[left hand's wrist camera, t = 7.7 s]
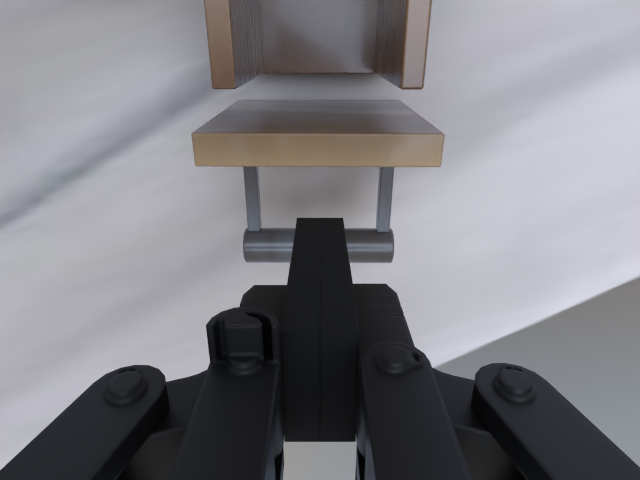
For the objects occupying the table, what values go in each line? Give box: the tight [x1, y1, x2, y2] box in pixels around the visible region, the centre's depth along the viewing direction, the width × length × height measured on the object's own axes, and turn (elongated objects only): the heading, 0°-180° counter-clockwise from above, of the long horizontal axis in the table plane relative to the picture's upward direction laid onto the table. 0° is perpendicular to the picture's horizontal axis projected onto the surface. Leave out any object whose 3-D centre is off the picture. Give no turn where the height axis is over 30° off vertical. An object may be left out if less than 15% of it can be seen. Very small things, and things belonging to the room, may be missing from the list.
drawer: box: [192, 0, 444, 263], centre depth 18 cm, size 23×9×10 cm, turn 0°
